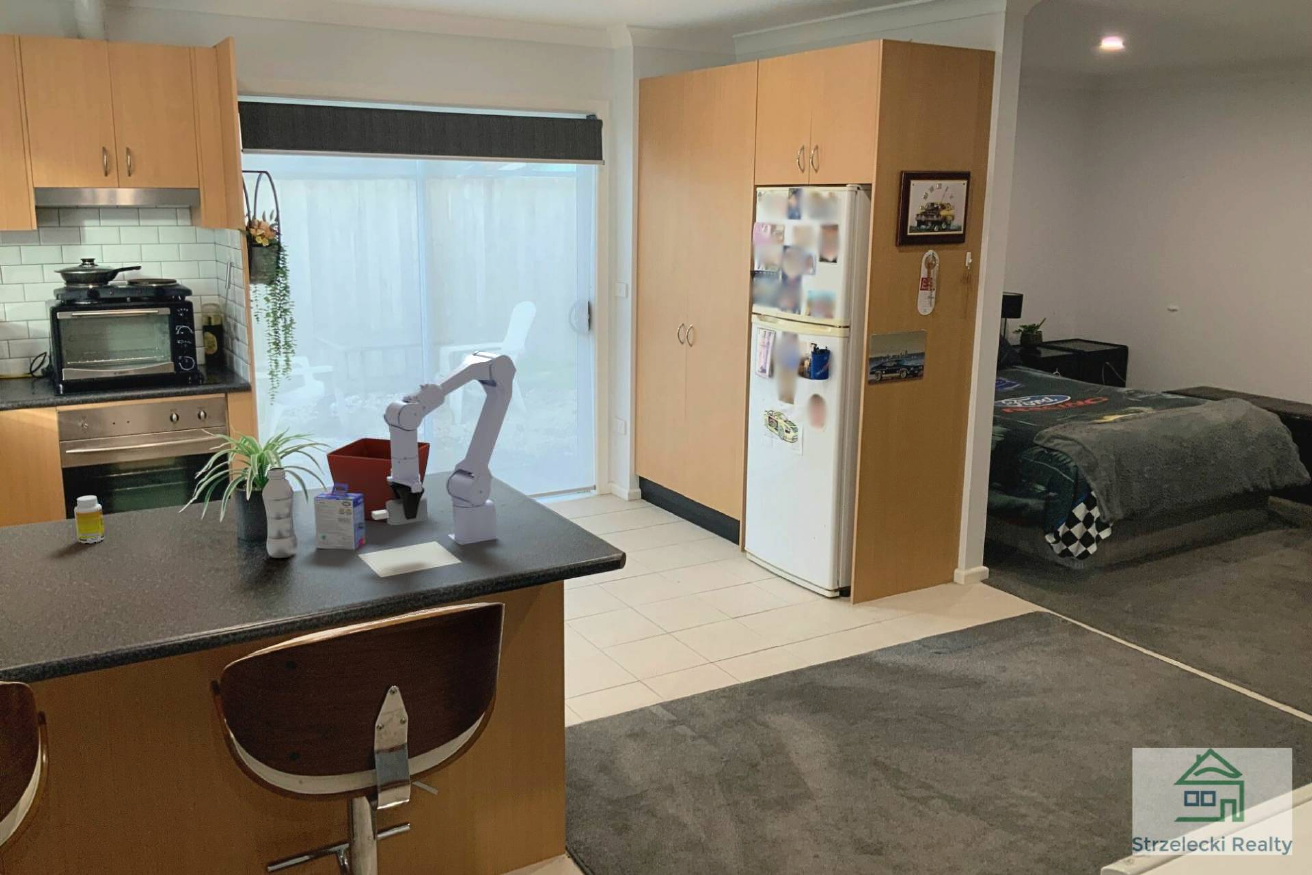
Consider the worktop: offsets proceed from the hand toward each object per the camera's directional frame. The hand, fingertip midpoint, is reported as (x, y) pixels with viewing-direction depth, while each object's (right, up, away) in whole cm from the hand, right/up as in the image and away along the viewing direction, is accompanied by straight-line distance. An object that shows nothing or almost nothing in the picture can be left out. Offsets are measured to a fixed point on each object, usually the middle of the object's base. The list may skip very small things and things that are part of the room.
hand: (407, 515), depth 233 cm
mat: (+1, -10, -1) cm, 10 cm away
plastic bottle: (-28, -9, +1) cm, 29 cm away
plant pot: (-14, -2, +33) cm, 36 cm away
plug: (-1, -1, -1) cm, 2 cm away
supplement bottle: (-75, -7, +10) cm, 76 cm away
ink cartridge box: (-17, -8, +8) cm, 20 cm away
